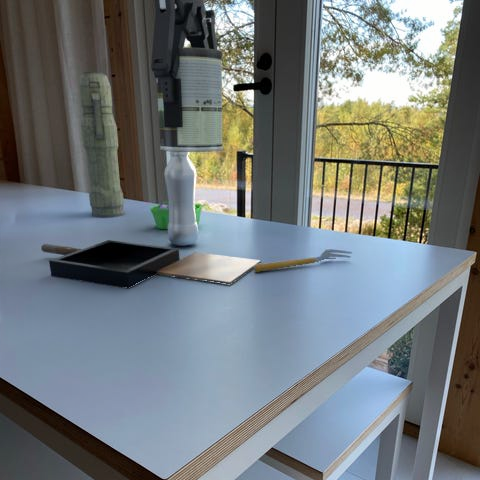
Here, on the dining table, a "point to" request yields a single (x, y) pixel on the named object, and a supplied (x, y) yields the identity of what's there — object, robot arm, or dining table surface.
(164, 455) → the dining table surface
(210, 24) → the robot arm
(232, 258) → the cardboard square
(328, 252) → the fork
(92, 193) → the thermos
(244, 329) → the dining table surface
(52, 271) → the pan
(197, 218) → the fruit basket
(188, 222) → the plastic bottle
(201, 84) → the coffee can
